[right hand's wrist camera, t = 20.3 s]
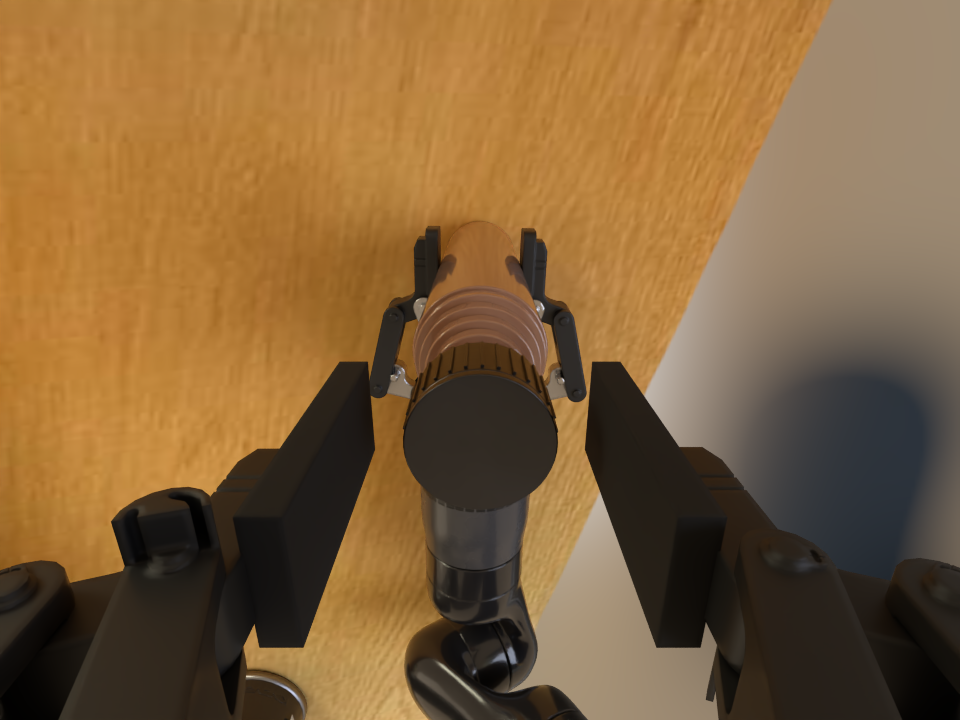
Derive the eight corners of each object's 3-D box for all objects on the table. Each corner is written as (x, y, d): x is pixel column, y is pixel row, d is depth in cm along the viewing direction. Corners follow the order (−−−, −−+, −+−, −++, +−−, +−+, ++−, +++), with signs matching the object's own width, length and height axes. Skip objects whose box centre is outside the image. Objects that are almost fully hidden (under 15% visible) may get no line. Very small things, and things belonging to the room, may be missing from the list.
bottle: (502, 211, 36) (547, 315, 12) (522, 277, 37) (595, 483, 14) (436, 233, 36) (354, 374, 13) (458, 297, 38) (423, 529, 14)
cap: (562, 444, 15) (576, 491, 13) (436, 476, 15) (430, 527, 13) (529, 322, 14) (538, 352, 12) (392, 361, 14) (377, 397, 12)
